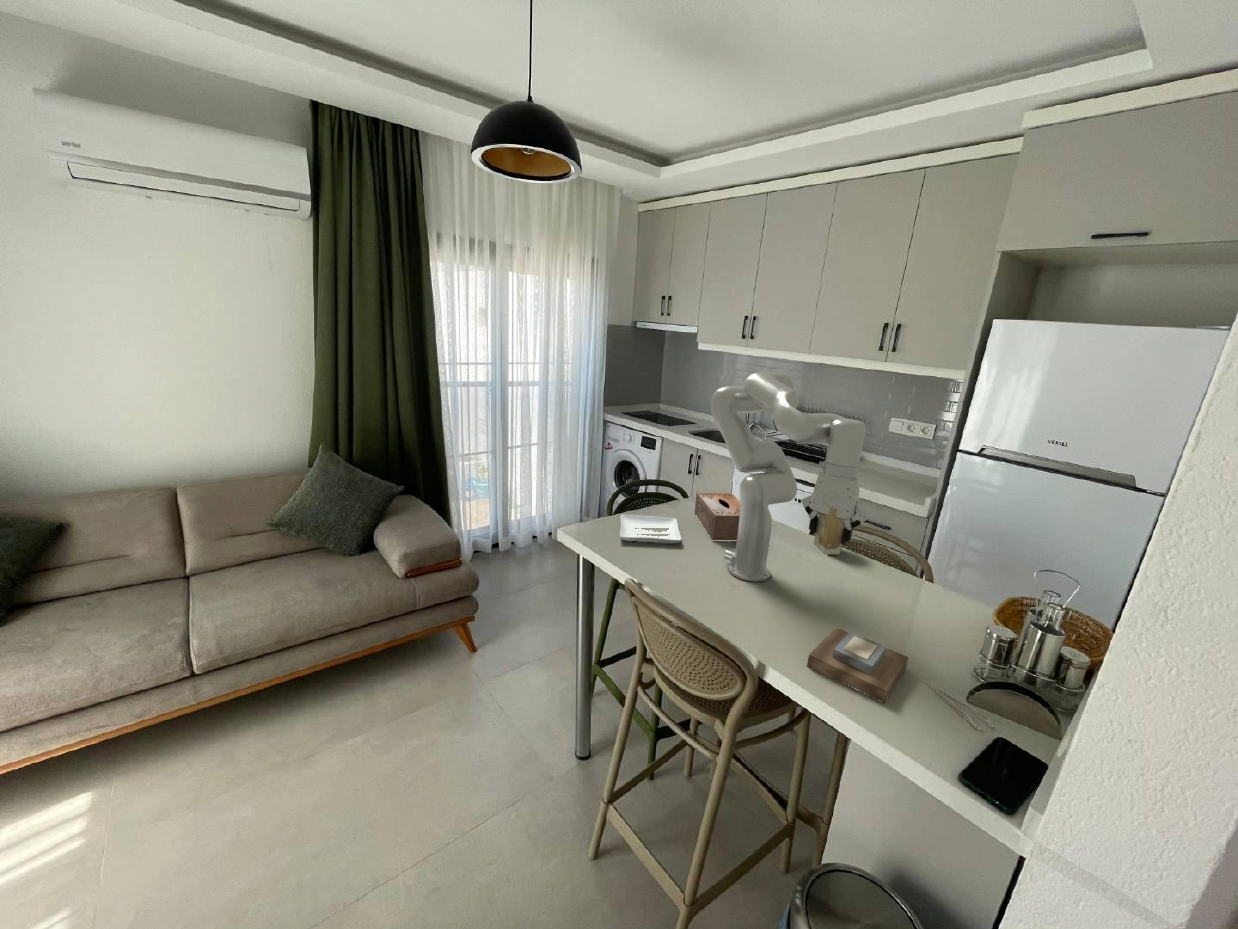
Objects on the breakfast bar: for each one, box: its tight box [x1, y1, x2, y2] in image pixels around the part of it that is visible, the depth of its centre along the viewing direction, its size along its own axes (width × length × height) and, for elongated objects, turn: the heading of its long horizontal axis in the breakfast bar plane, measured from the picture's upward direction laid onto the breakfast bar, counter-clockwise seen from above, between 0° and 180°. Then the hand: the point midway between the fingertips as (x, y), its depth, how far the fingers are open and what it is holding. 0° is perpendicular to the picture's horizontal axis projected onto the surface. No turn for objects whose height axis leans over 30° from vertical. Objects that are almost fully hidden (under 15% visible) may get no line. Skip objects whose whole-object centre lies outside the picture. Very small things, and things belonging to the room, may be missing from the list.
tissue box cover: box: [694, 492, 740, 541], centre depth 191 cm, size 26×14×10 cm, turn 6°
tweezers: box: [921, 679, 995, 732], centre depth 105 cm, size 17×5×2 cm, turn 17°
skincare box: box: [813, 507, 846, 555], centre depth 127 cm, size 6×4×12 cm
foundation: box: [806, 626, 909, 703], centre depth 112 cm, size 16×16×5 cm
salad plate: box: [619, 514, 682, 545], centre depth 182 cm, size 21×21×3 cm
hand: (828, 537), depth 127 cm, fingers closed on skincare box, 7 cm apart
